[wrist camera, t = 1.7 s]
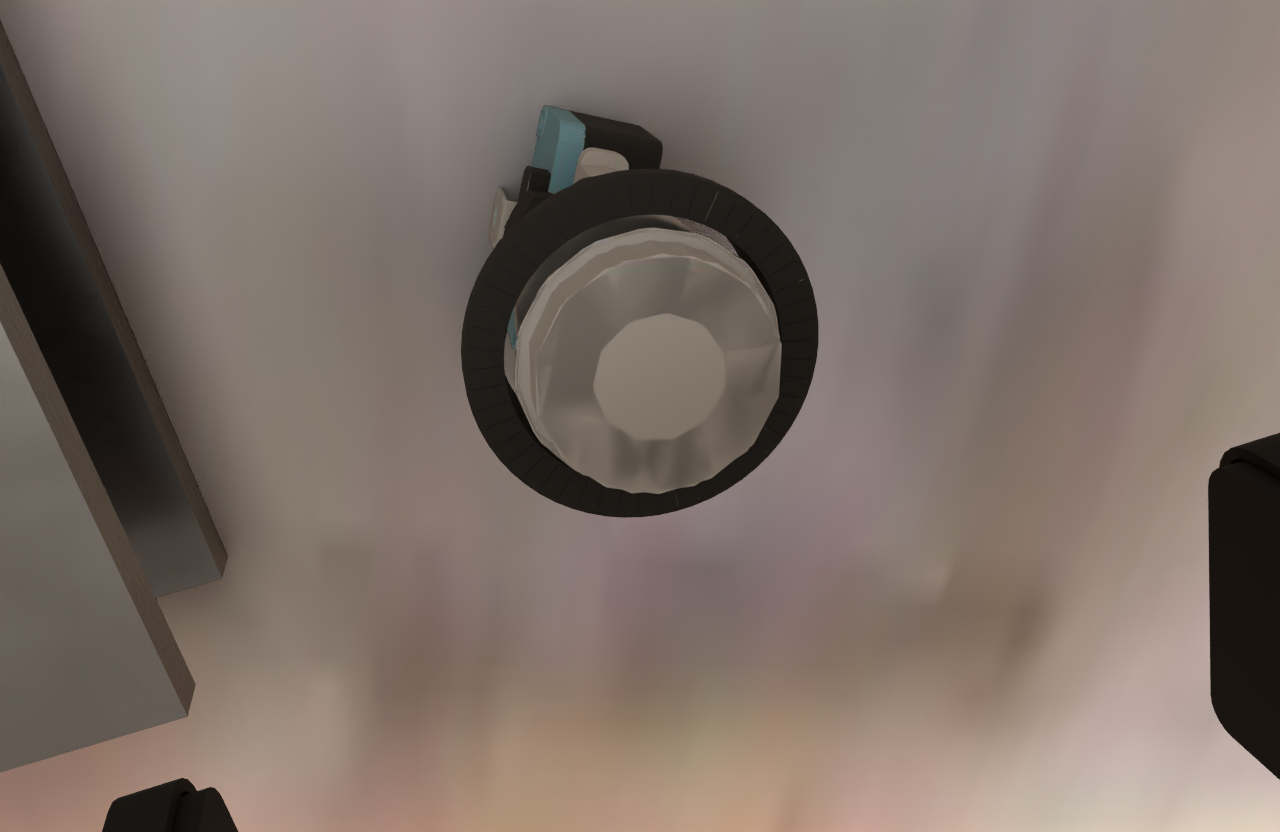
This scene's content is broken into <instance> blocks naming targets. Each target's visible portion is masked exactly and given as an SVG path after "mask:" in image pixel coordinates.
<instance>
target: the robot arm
mask: <svg viewBox="0 0 1280 832" xmlns="http://www.w3.org/2000/svg"><path fill="white" fill-rule="evenodd" d="M1208 509H1209V593H1210V677H1211V700H1212V705H1213V708H1214V711H1215V713H1216V715H1217V717H1218V719H1219V721H1220V723H1221V724H1222V726H1223V727H1224V729H1225V730H1226V731H1227V732H1228V733H1229V734H1230V735H1231V736H1232V737H1233V738H1234V739H1235V740H1236V741H1237V742H1238V743H1239V744H1241V745H1242V746H1243V747H1244V748H1245V749H1246V750H1247V751H1248V752H1249V753H1251V754H1252V755H1253V756H1254V757H1255V758H1256V759H1257V760H1258V761H1259V762H1261V763H1262V764H1263V765H1264V766H1265V767H1266V768H1267V769H1268V770H1269V771H1271V772H1272V773H1273V774H1274V775H1275V776H1276V777H1277V778H1278V779H1280V433H1278V434H1274V435H1271V436H1268V437H1265V438H1262V439H1258V440H1255V441H1252V442H1249V443H1246V444H1243V445H1239V446H1236V447H1233V448H1231V449H1229V450H1228V451H1226V452H1225V453H1224V455H1223V457H1222V459H1221V461H1220V466H1219V468H1218V469H1216V470H1215V471H1213V472H1212V474H1211V476H1210V478H1209V485H1208ZM102 832H238V830H237V828H236V826H235V824H234V822H233V820H232V817H231V815H230V813H229V811H228V809H227V807H226V805H225V803H224V800H223V799H222V797H221V795H220V793H219V792H218V791H217V790H216V789H215V788H212V787H209V788H206V789H203V790H200V791H197V790H196V789H195V787H194V785H193V784H192V783H191V782H190V781H189V780H188V779H184V778H180V779H177V780H174V781H171V782H168V783H164V784H161V785H158V786H155V787H152V788H149V789H145V790H142V791H139V792H136V793H133V794H129V795H126V796H123V797H120V798H118V799H116V800H115V801H113V802H112V804H111V806H110V808H109V811H108V814H107V817H106V820H105V824H104V827H103V830H102Z"/></svg>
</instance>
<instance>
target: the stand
mask: <svg viewBox="0 0 1280 832" xmlns="http://www.w3.org/2000/svg"><path fill="white" fill-rule="evenodd" d="M227 557H228V556H227V554H226V552H225V549H224V547H223V545H222V542H221V540H220V538H219V535H218V533H217V531H216V528H215V526H214V524H213V521H212V519H211V516H210V514H209V512H208V509H207V507H206V505H205V502H204V500H203V498H202V495H201V493H200V491H199V488H198V486H197V483H196V481H195V479H194V476H193V474H192V472H191V469H190V467H189V465H188V462H187V460H186V458H185V455H184V453H183V450H182V448H181V446H180V443H179V441H178V439H177V436H176V434H175V432H174V429H173V427H172V425H171V422H170V420H169V418H168V415H167V413H166V410H165V408H164V406H163V403H162V401H161V399H160V396H159V394H158V392H157V389H156V387H155V385H154V382H153V380H152V377H151V375H150V373H149V370H148V368H147V366H146V363H145V361H144V359H143V356H142V354H141V352H140V349H139V347H138V345H137V342H136V340H135V337H134V335H133V333H132V330H131V328H130V326H129V323H128V321H127V319H126V316H125V314H124V312H123V309H122V307H121V304H120V302H119V300H118V297H117V295H116V293H115V290H114V288H113V286H112V283H111V281H110V279H109V276H108V274H107V271H106V269H105V267H104V264H103V262H102V260H101V257H100V255H99V253H98V250H97V248H96V246H95V243H94V241H93V239H92V236H91V234H90V231H89V229H88V227H87V224H86V222H85V220H84V217H83V215H82V213H81V210H80V208H79V206H78V203H77V201H76V198H75V196H74V194H73V191H72V189H71V187H70V184H69V182H68V180H67V177H66V175H65V173H64V170H63V168H62V166H61V163H60V161H59V158H58V156H57V154H56V151H55V149H54V147H53V144H52V142H51V140H50V137H49V135H48V133H47V130H46V128H45V125H44V123H43V121H42V118H41V116H40V114H39V111H38V109H37V107H36V104H35V102H34V100H33V97H32V95H31V93H30V90H29V88H28V85H27V83H26V81H25V78H24V76H23V74H22V71H21V69H20V67H19V64H18V62H17V60H16V57H15V55H14V52H13V50H12V48H11V45H10V43H9V41H8V38H7V36H6V34H5V31H4V29H3V27H2V24H1V22H0V772H3V771H7V770H10V769H13V768H17V767H20V766H24V765H27V764H30V763H34V762H37V761H40V760H44V759H47V758H50V757H54V756H57V755H60V754H64V753H67V752H70V751H74V750H77V749H81V748H84V747H87V746H91V745H94V744H97V743H101V742H104V741H107V740H111V739H114V738H117V737H121V736H124V735H127V734H131V733H134V732H138V731H141V730H144V729H148V728H151V727H154V726H158V725H161V724H164V723H168V722H171V721H174V720H178V719H181V718H184V717H188V713H189V709H190V705H191V701H192V697H193V693H194V689H195V685H196V684H195V682H194V680H193V678H192V676H191V673H190V671H189V669H188V667H187V665H186V663H185V661H184V658H183V656H182V654H181V652H180V650H179V648H178V645H177V643H176V641H175V639H174V637H173V635H172V632H171V630H170V628H169V626H168V624H167V622H166V620H165V617H164V615H163V613H162V611H161V609H160V607H159V604H158V602H157V600H156V598H157V597H160V596H163V595H167V594H170V593H174V592H177V591H181V590H184V589H188V588H191V587H195V586H198V585H202V584H205V583H209V582H212V581H216V580H219V579H222V577H223V573H224V569H225V565H226V561H227Z"/></svg>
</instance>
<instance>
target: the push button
mask: <svg viewBox="0 0 1280 832" xmlns="http://www.w3.org/2000/svg"><path fill="white" fill-rule="evenodd" d="M536 136H537V137H538V138H537V143H536V148H535V153H534V158H533V164H532V167H531V166H527V167H526V168H525V171H524V174H523V178H522V184H521V189H520V194H519V199H518V202H514V201H510V200H506V195H505V193H504V191H503V189H502V188H499V187H498V190H497V193H496V198H495V203H494V208H493V214H492V219H491V225H490V233H489V238H490V241H491V244H492V247H493V248H494V250H493V251H492V253H491V254H490V256H489V257H488V259H487V260H486V262H485V264H484V266H483V268H482V270H481V272H480V273H479V275H478V277H477V280H476V282H475V285H474V287H473V290H472V292H471V295H470V298H469V301H468V305H467V309H466V312H465V317H464V323H463V330H462V343H461V357H462V371H463V376H464V382H465V387H466V392H467V397H468V400H469V404H470V407H471V410H472V413H473V416H474V418H475V420H476V423H477V425H478V427H479V429H480V431H481V433H482V435H483V436H484V438H485V440H486V442H487V443H488V445H489V446H490V448H491V449H492V450H493V452H494V453H495V454H496V456H497V457H498V458H499V460H500V461H501V462H502V463H503V464H504V465H505V466H506V467H507V468H508V469H509V470H510V471H511V472H512V473H513V474H514V475H515V476H516V477H517V478H519V479H520V480H521V481H522V482H523V483H525V484H526V485H527V486H529V487H530V488H532V489H533V490H535V491H536V492H538V493H539V494H541V495H543V496H545V497H547V498H549V499H551V500H553V501H554V502H557V503H559V504H562V505H564V506H567V507H569V508H572V509H576V510H579V511H583V512H586V513H591V514H596V515H602V516H610V517H646V516H654V515H661V514H665V513H670V512H674V511H678V510H681V509H684V508H688V507H691V506H694V505H696V504H699V503H701V502H703V501H706V500H708V499H710V498H712V497H714V496H716V495H718V494H720V493H721V492H723V491H725V490H727V489H728V488H730V487H731V486H733V485H734V484H736V483H737V482H739V481H740V480H742V479H743V478H744V477H746V476H747V475H748V474H749V473H750V472H752V471H753V470H754V469H755V468H757V467H758V466H759V465H760V464H761V463H762V462H763V461H764V460H765V459H766V458H767V457H768V456H769V455H770V453H771V452H772V451H773V450H774V449H775V448H776V446H777V445H778V444H779V443H780V442H781V440H782V439H783V437H784V436H785V435H786V433H787V432H788V430H789V429H790V427H791V426H792V424H793V422H794V420H795V419H796V417H797V415H798V413H799V411H800V409H801V407H802V405H803V402H804V400H805V398H806V396H807V393H808V390H809V387H810V384H811V381H812V378H813V373H814V368H815V364H816V358H817V349H818V317H817V307H816V303H815V298H814V293H813V289H812V286H811V283H810V280H809V277H808V274H807V272H806V270H805V267H804V265H803V263H802V261H801V259H800V257H799V255H798V254H797V252H796V250H795V249H794V247H793V246H792V244H791V242H790V241H789V240H788V238H787V237H786V236H785V235H784V233H783V232H782V231H781V230H780V228H779V227H778V226H777V225H776V224H775V223H774V222H773V221H772V220H771V219H770V218H769V217H768V216H767V215H766V214H765V213H763V212H762V211H761V210H760V209H758V208H757V207H756V206H755V205H753V204H752V203H751V202H749V201H748V200H747V199H745V198H744V197H742V196H740V195H739V194H737V193H735V192H734V191H732V190H731V189H729V188H727V187H725V186H723V185H720V184H718V183H716V182H714V181H712V180H709V179H706V178H703V177H700V176H697V175H694V174H689V173H685V172H680V171H675V170H665V169H659V167H660V163H661V159H662V151H663V147H662V142H661V141H659V140H658V139H657V138H655V137H654V136H653V135H651V134H650V133H648V132H647V131H646V130H644V129H643V128H642V127H640V126H637V125H633V124H628V123H623V122H619V121H614V120H609V119H604V118H600V117H595V116H590V115H586V114H581V113H576V112H572V111H567V110H562V109H558V108H553V107H548V106H544V107H543V109H542V111H541V115H540V119H539V125H538V130H537V135H536ZM672 216H674V217H680V218H685V219H689V220H692V221H695V222H698V223H701V224H704V225H706V226H708V227H710V228H712V229H715V230H717V231H718V232H720V233H722V234H723V235H725V236H726V237H727V239H728V240H729V242H730V243H731V244H732V246H733V247H734V249H735V250H736V252H737V254H738V256H739V257H738V256H736V255H735V254H733V253H732V252H730V251H728V250H727V249H725V248H724V247H722V246H721V245H719V244H718V243H716V242H714V241H713V240H711V239H710V238H707V237H705V236H702V235H699V234H697V233H694V232H693V231H692V230H691V229H690V228H688V227H687V226H686V225H684V224H683V223H681V222H680V221H678V220H677V219H676V218H674V217H672ZM507 329H508V333H509V336H510V339H511V343H510V344H511V347H512V349H514V350H516V363H515V386H516V392H514V390H513V389H512V388H511V386H510V384H509V382H508V380H507V378H506V376H505V371H504V345H505V338H506V333H507Z"/></svg>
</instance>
